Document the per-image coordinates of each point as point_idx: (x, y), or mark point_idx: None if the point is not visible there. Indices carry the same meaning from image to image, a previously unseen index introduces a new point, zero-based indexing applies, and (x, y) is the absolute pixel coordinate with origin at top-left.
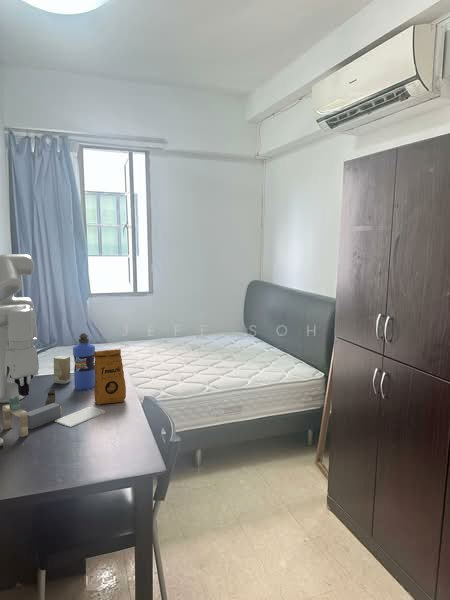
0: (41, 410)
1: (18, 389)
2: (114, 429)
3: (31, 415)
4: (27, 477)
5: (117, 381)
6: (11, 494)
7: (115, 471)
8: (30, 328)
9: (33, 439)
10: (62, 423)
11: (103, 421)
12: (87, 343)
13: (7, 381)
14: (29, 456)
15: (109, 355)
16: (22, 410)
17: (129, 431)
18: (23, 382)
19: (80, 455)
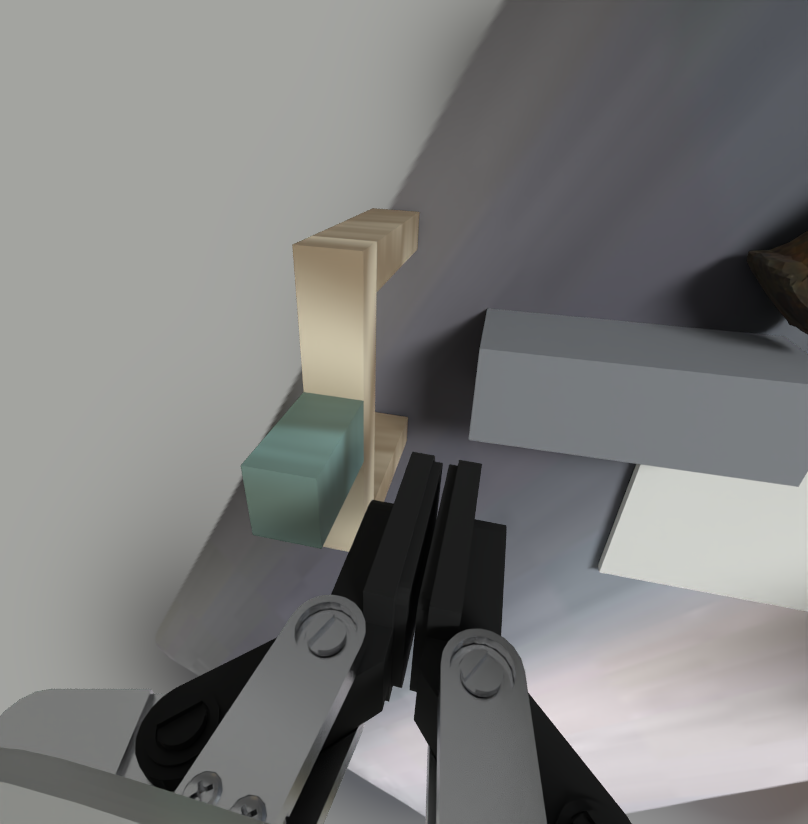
0: (606, 432)
1: (353, 546)
2: (660, 720)
3: (481, 438)
4: (226, 638)
5: None
6: (165, 647)
7: (395, 780)
8: None
9: (392, 493)
10: (620, 514)
11: (746, 659)
12: None
13: (13, 722)
14: (292, 574)
15: None
16: (356, 511)
17: (661, 763)
18: (348, 754)
19: (405, 696)
